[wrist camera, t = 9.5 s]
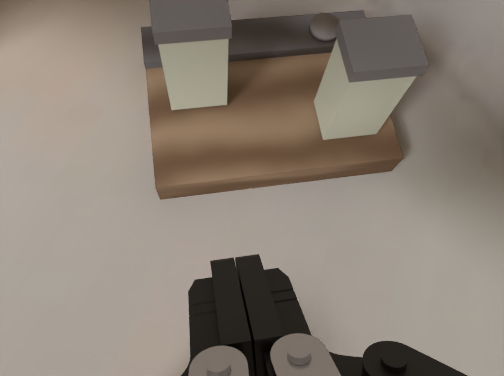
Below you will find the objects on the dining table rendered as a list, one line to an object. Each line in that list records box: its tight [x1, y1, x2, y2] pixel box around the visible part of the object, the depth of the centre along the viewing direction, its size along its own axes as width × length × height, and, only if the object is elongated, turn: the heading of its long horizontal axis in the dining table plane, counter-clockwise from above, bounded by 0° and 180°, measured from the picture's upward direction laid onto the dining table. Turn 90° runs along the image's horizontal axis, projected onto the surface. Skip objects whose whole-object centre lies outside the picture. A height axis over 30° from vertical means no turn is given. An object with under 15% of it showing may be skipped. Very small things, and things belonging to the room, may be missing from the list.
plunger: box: [314, 15, 429, 140], centre depth 35 cm, size 4×5×10 cm
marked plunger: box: [149, 0, 232, 110], centre depth 35 cm, size 4×5×10 cm
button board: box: [141, 10, 403, 199], centre depth 41 cm, size 16×22×5 cm
